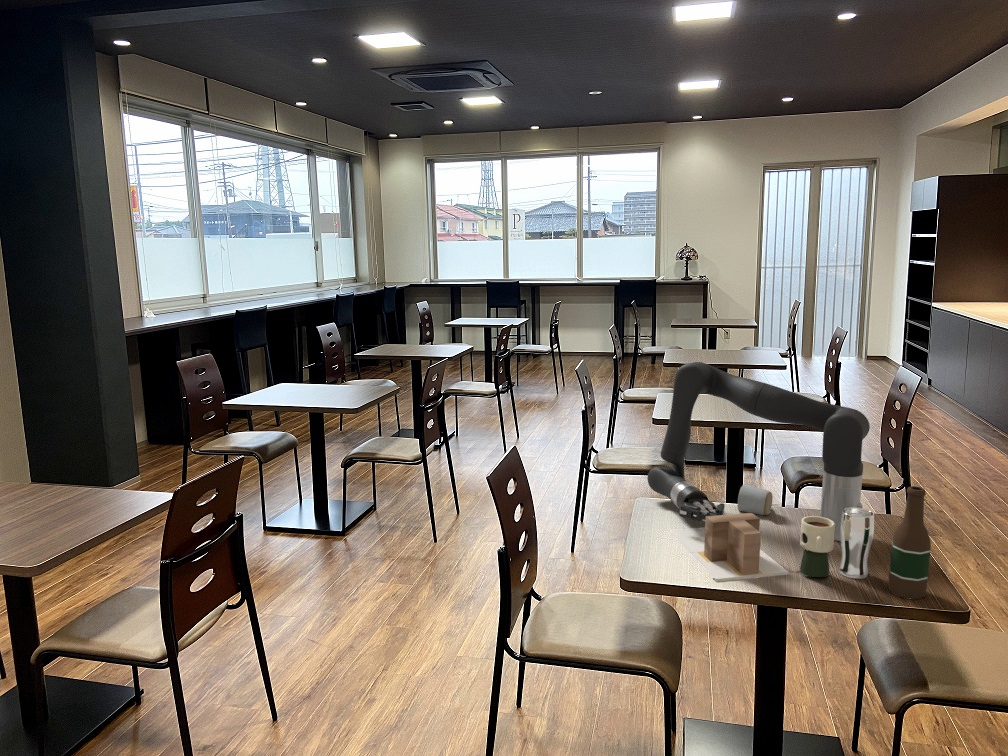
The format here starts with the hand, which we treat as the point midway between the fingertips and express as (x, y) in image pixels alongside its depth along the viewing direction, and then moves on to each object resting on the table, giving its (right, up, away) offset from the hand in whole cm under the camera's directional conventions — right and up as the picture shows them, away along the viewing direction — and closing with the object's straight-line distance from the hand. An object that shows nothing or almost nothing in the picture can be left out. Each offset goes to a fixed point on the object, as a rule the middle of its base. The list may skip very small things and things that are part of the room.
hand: (717, 522), depth 193 cm
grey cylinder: (+17, -2, +24) cm, 30 cm away
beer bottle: (+35, -11, -24) cm, 44 cm away
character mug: (+18, -9, -15) cm, 26 cm away
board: (+1, -7, -3) cm, 7 cm away
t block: (+2, -8, -11) cm, 13 cm away
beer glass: (+27, -9, -15) cm, 33 cm away
